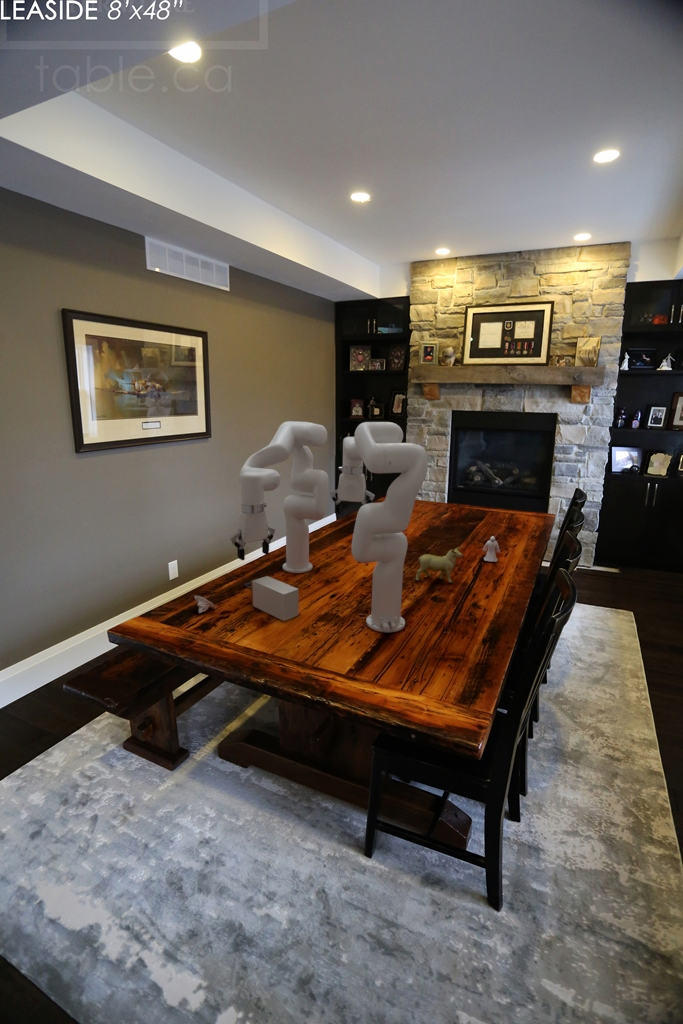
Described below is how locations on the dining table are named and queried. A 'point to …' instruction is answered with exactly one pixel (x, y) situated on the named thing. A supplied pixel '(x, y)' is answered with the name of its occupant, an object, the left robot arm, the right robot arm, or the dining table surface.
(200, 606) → the seashell
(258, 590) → the cabinet
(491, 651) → the dining table surface
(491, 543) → the figurine
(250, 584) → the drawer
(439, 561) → the toy
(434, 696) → the dining table surface
